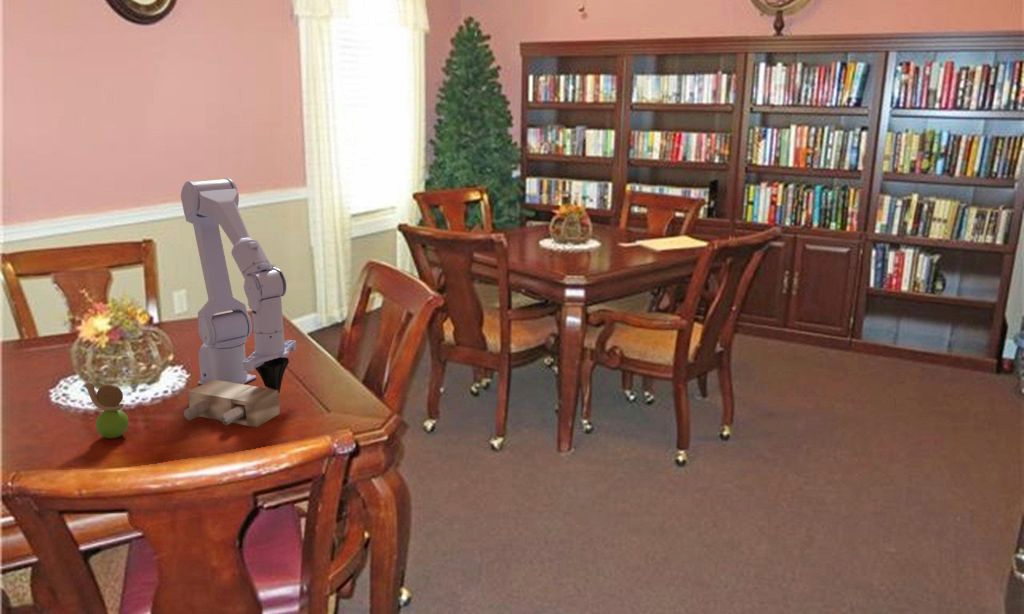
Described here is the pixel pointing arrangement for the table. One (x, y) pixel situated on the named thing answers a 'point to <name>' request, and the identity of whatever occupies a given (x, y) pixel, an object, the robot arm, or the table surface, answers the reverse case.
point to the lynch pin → (236, 412)
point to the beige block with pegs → (233, 402)
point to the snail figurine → (108, 410)
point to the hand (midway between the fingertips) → (273, 393)
